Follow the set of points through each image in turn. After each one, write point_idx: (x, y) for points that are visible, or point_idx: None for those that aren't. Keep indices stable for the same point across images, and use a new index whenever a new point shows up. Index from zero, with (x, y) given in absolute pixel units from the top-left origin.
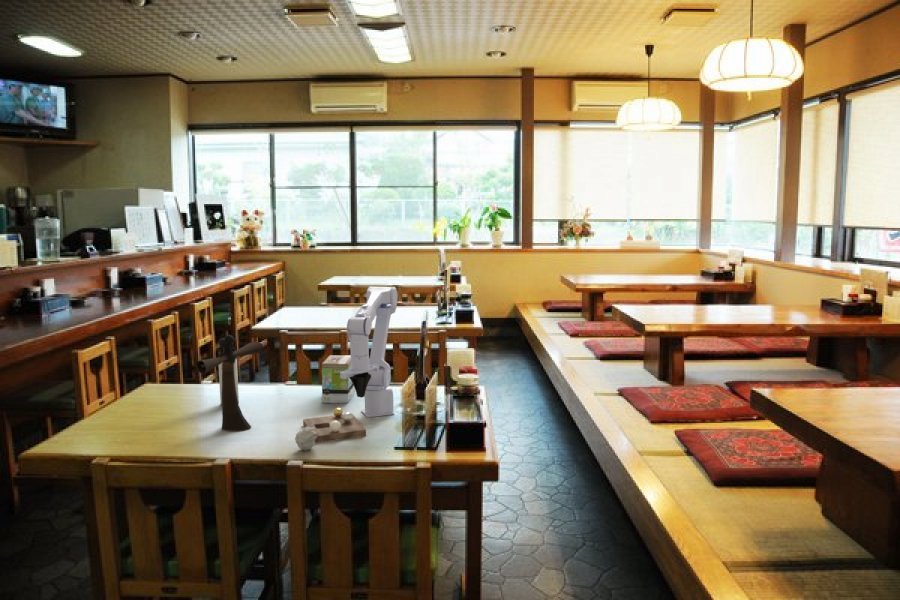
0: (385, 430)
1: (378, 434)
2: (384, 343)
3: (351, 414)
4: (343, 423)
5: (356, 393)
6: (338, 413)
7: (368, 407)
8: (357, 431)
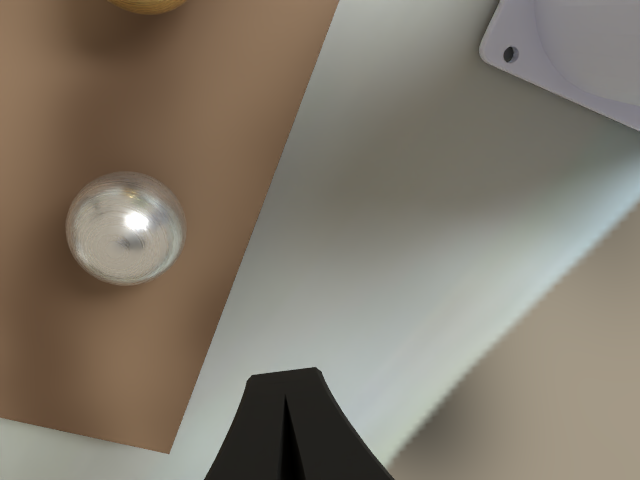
0: (356, 406)
1: None
2: None
3: (159, 268)
4: None
5: (240, 404)
6: (117, 6)
7: (574, 7)
8: (98, 433)
